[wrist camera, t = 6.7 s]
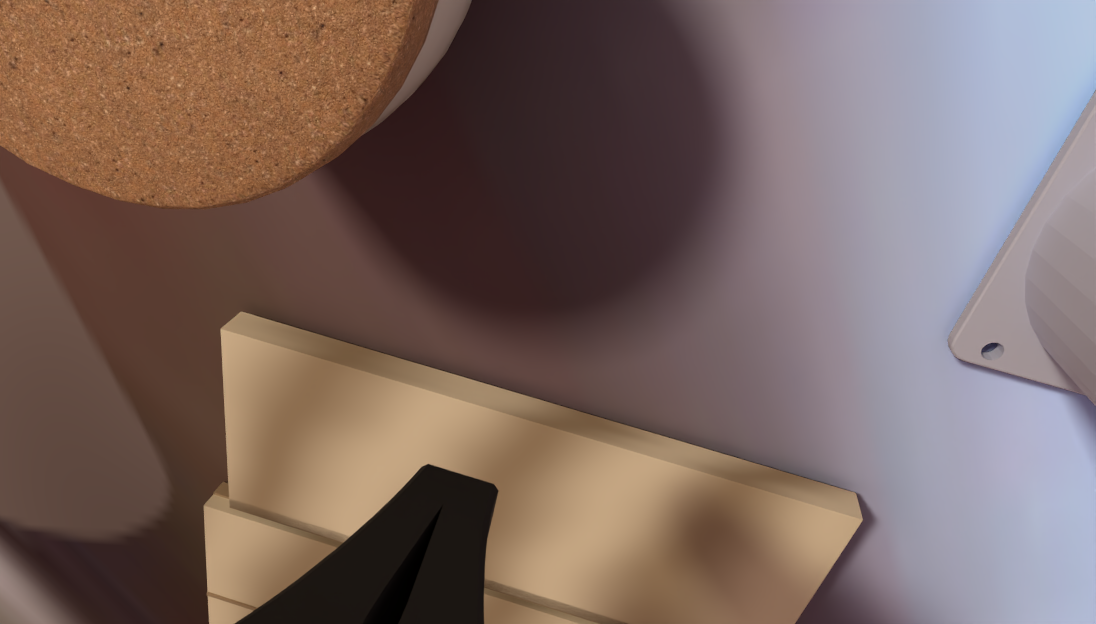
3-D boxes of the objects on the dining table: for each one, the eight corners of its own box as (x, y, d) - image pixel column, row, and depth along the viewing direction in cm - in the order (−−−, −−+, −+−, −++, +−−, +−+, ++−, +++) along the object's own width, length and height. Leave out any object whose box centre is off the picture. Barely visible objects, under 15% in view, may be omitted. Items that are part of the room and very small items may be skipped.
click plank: (855, 493, 21) (862, 519, 20) (759, 646, 25) (761, 674, 24) (241, 311, 22) (220, 328, 21) (246, 486, 26) (229, 507, 25)
